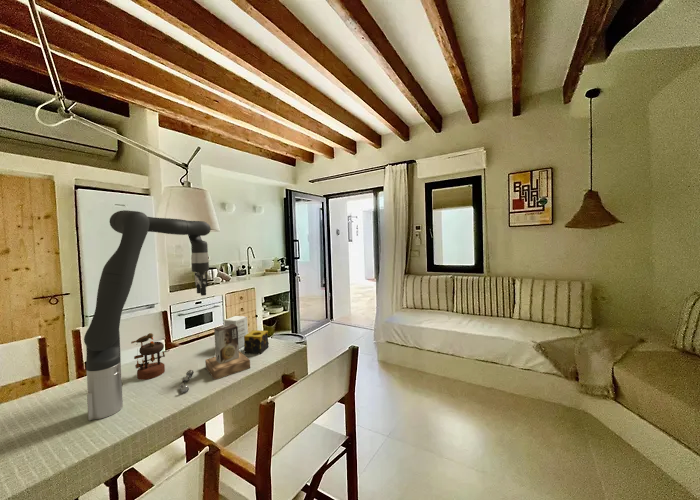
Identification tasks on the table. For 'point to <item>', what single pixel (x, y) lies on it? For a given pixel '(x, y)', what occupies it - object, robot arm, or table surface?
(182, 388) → the bolt
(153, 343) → the music box
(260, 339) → the yellow black tissue box
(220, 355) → the coffee box
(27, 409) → the table surface
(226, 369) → the stand
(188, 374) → the bolt
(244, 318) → the supplement box
